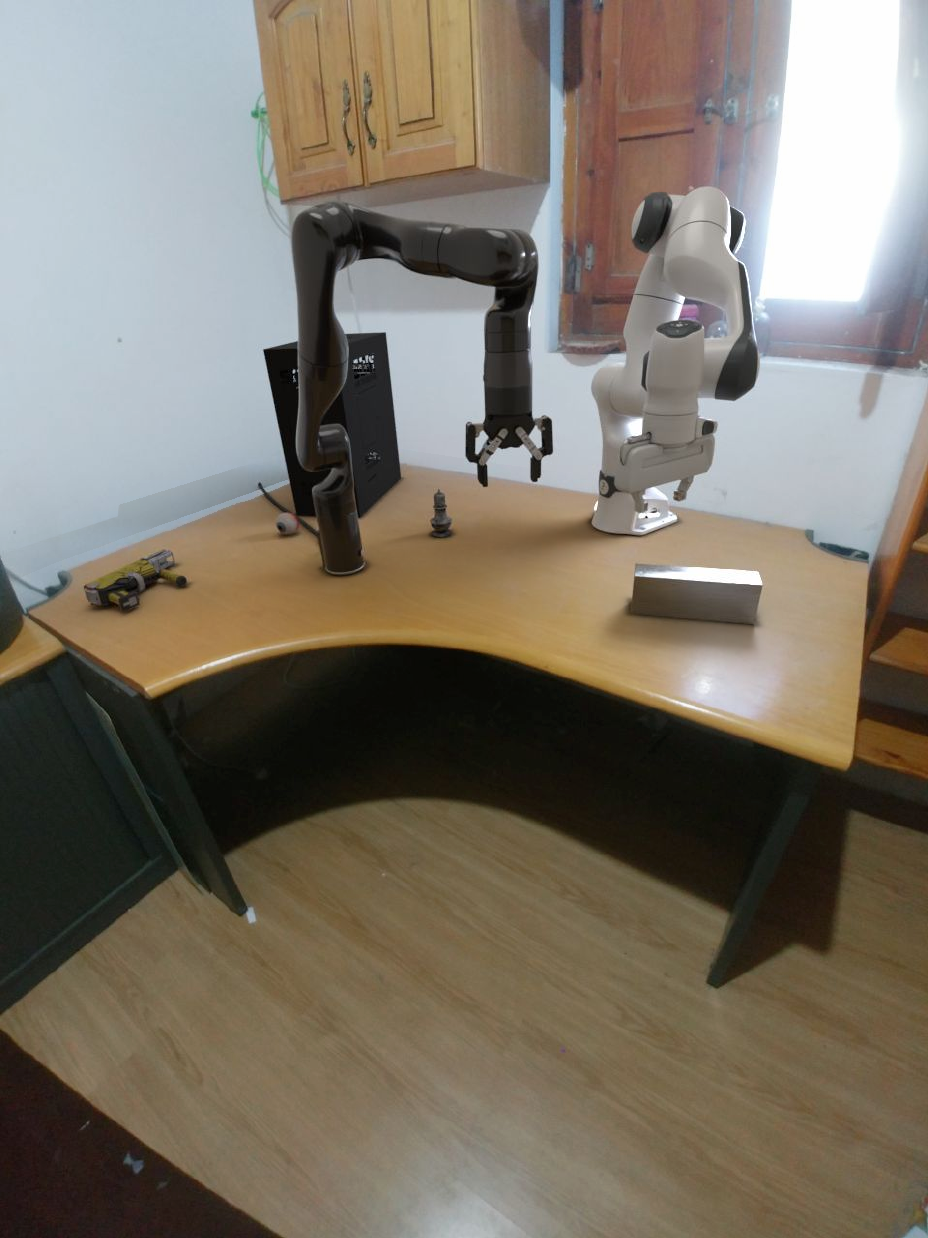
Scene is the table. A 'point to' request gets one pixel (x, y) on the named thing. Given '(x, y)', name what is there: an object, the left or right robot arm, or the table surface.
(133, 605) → the toy gun
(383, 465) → the cardboard box
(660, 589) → the bar
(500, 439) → the left robot arm
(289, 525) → the eyeball
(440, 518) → the salt shaker
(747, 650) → the table surface
